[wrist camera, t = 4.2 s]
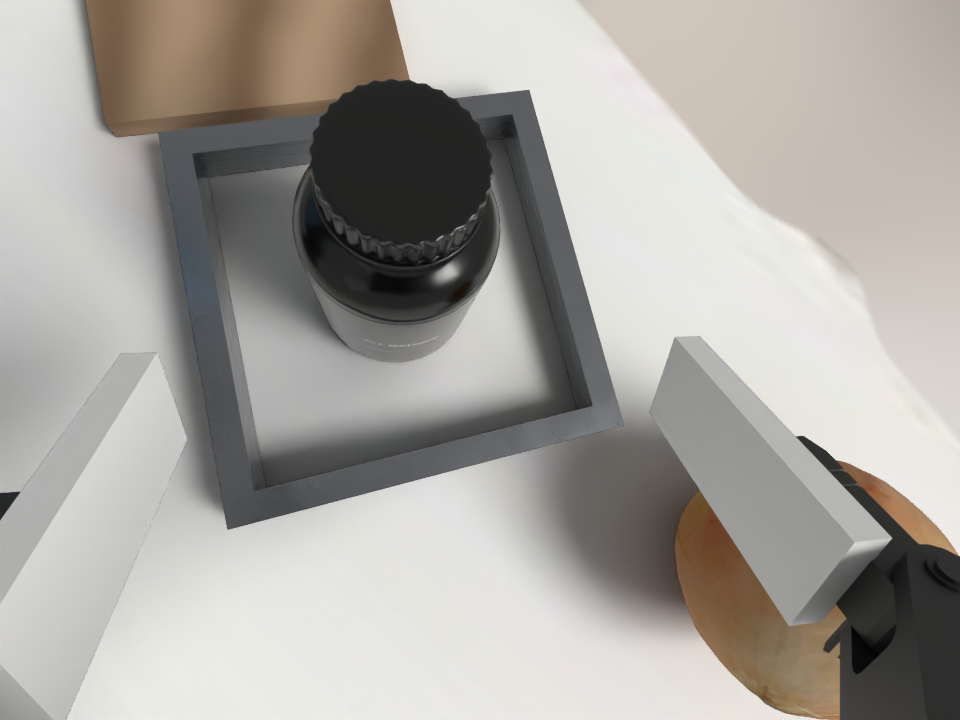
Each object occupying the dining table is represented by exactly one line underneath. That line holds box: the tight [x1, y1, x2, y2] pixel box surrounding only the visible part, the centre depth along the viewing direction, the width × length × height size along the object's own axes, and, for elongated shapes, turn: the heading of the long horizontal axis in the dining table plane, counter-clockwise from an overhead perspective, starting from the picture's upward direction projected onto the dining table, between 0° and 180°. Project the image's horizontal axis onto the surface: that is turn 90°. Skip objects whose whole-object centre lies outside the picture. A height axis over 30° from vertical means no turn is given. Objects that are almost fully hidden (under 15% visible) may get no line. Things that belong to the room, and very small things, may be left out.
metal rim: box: [158, 90, 624, 530], centre depth 24 cm, size 17×17×2 cm
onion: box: [675, 460, 959, 720], centre depth 20 cm, size 10×10×10 cm
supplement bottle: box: [292, 79, 500, 362], centre depth 19 cm, size 7×7×12 cm
